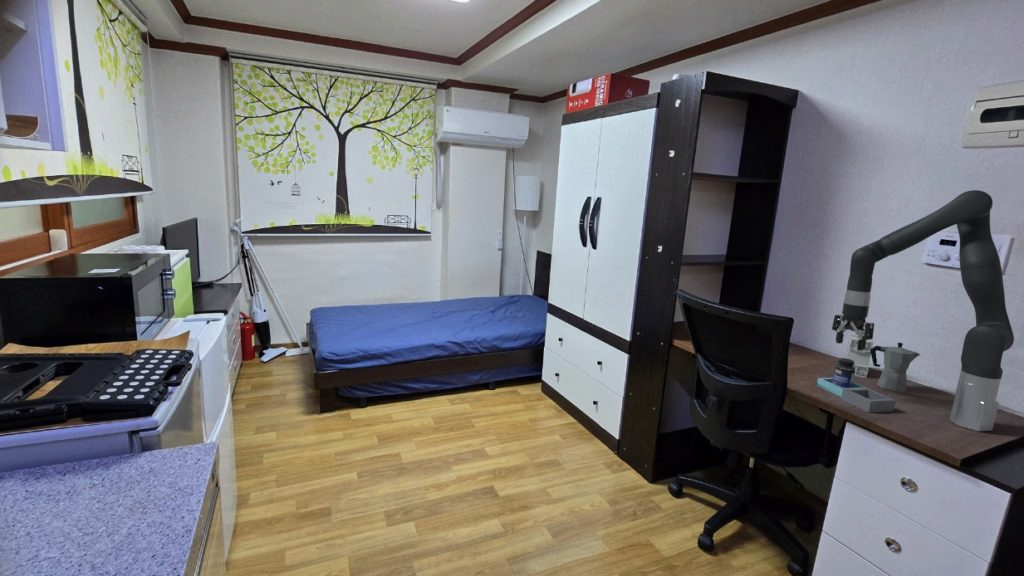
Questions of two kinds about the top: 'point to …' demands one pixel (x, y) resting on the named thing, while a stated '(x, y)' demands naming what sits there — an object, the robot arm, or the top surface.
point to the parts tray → (834, 386)
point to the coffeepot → (894, 366)
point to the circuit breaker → (859, 355)
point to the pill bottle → (844, 373)
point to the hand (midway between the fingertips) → (849, 346)
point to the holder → (868, 400)
